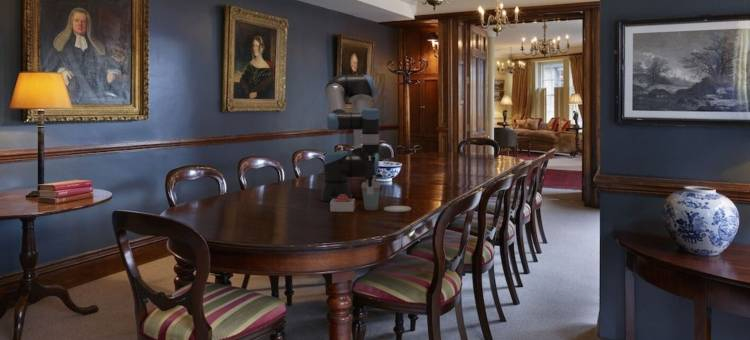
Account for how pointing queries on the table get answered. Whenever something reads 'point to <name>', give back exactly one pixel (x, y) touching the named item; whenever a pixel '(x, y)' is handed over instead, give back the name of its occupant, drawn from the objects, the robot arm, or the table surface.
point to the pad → (397, 208)
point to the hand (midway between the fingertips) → (371, 192)
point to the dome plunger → (343, 198)
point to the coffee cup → (371, 196)
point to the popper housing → (342, 206)
